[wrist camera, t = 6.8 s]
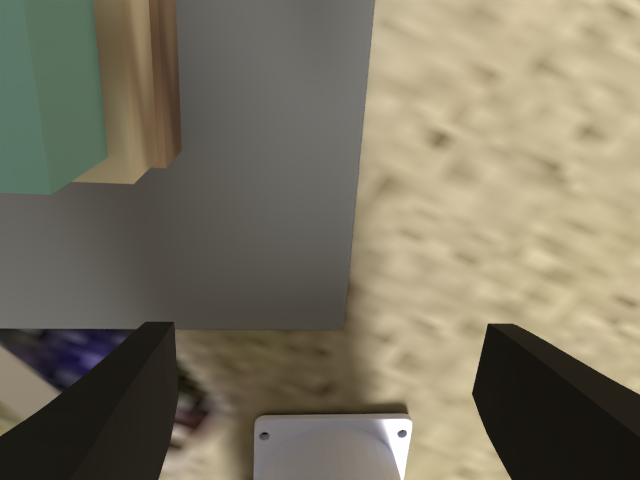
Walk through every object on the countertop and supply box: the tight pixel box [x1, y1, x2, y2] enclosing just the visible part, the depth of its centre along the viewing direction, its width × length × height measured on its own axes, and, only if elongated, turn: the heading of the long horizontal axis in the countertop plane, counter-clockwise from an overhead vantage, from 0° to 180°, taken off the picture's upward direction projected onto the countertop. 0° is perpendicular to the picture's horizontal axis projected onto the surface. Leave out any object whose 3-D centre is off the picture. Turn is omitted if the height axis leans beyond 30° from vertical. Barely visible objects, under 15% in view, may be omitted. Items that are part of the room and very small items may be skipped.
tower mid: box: [71, 0, 158, 184], centre depth 13 cm, size 6×6×3 cm
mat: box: [0, 0, 375, 330], centre depth 18 cm, size 18×16×1 cm
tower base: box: [149, 0, 182, 168], centre depth 16 cm, size 6×6×3 cm
